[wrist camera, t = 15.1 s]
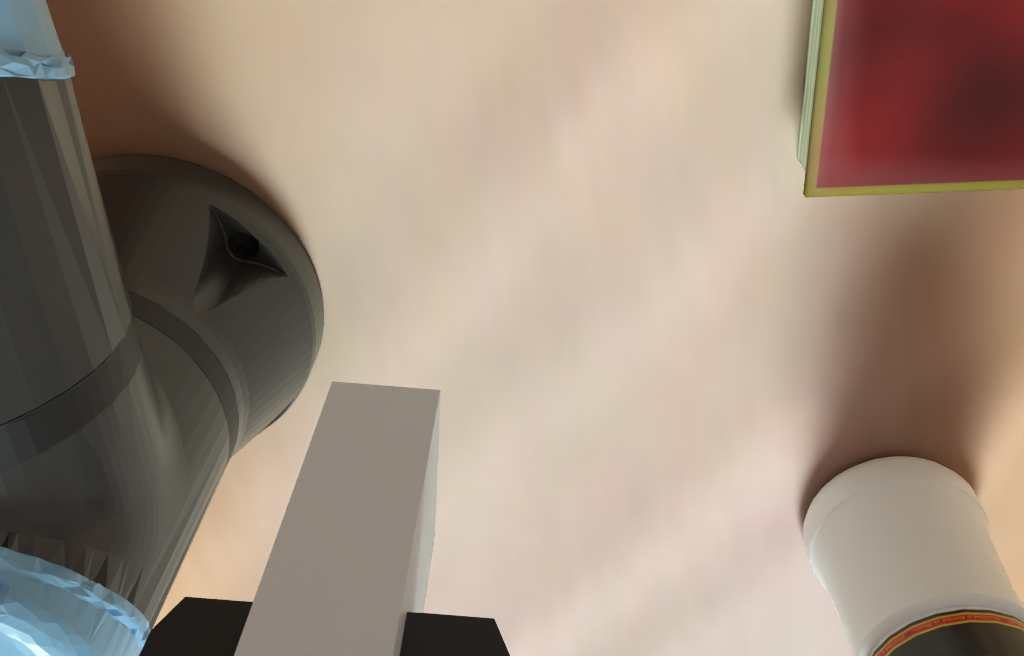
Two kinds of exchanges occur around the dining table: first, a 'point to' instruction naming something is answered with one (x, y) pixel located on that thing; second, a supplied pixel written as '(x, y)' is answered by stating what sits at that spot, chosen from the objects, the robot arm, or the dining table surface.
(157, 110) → the dining table surface
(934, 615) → the vodka
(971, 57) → the hardcover book
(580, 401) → the dining table surface
